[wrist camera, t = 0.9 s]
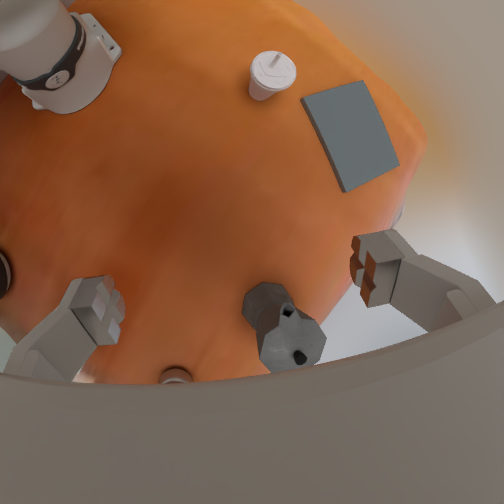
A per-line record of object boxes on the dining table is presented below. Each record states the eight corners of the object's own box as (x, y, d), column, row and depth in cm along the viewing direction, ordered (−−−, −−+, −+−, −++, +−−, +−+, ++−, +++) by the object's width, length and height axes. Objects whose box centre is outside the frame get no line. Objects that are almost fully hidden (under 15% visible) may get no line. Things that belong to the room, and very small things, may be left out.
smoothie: (250, 69, 40) (271, 28, 27) (283, 85, 42) (315, 52, 28) (233, 97, 41) (249, 62, 27) (268, 114, 43) (296, 86, 29)
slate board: (300, 100, 43) (303, 97, 41) (359, 82, 44) (363, 80, 43) (342, 192, 48) (346, 192, 46) (395, 165, 49) (399, 165, 47)
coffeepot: (232, 277, 47) (254, 326, 30) (286, 264, 49) (333, 303, 31) (250, 353, 51) (275, 418, 34) (298, 339, 52) (338, 396, 35)
